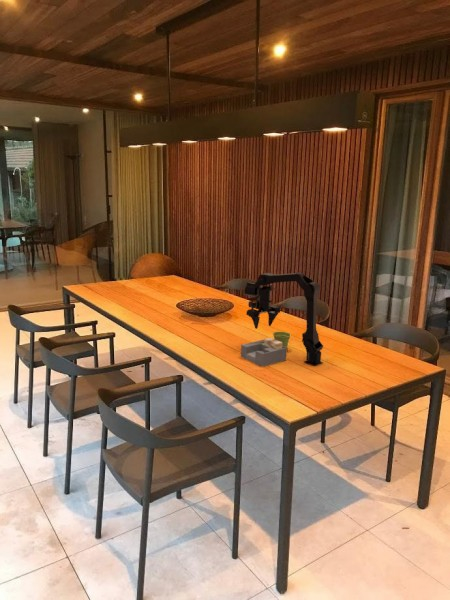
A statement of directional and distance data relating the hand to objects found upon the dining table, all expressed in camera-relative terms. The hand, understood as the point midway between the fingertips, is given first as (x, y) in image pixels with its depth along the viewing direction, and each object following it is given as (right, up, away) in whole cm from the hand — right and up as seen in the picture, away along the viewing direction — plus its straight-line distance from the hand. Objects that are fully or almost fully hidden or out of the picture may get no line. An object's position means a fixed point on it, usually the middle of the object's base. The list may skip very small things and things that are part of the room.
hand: (262, 327), depth 248 cm
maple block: (+4, -10, -8) cm, 13 cm away
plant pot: (+10, -12, +6) cm, 17 cm away
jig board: (0, -15, -8) cm, 17 cm away
